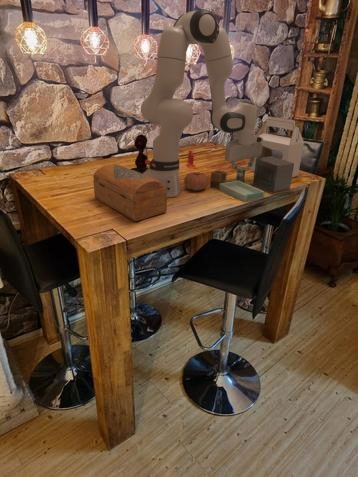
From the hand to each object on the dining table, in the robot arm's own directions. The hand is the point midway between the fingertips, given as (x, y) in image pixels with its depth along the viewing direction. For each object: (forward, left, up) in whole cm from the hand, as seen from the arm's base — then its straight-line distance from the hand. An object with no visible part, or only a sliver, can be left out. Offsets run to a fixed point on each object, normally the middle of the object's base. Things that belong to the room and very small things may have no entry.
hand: (242, 168), depth 170 cm
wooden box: (-60, -4, -8) cm, 60 cm away
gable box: (+26, +5, -7) cm, 28 cm away
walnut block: (-15, -1, -7) cm, 16 cm away
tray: (-11, -13, -7) cm, 18 cm away
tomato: (-26, +1, -7) cm, 27 cm away
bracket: (-8, +36, -7) cm, 37 cm away
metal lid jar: (-1, 0, -7) cm, 7 cm away
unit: (+7, -13, -7) cm, 17 cm away
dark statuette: (-40, +29, -7) cm, 50 cm away
